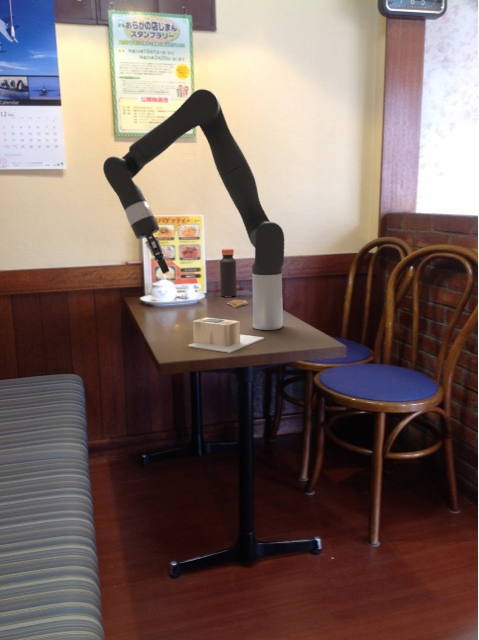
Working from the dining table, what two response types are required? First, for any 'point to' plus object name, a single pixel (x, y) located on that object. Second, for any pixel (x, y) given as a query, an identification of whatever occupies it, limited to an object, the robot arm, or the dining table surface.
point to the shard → (237, 303)
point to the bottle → (228, 273)
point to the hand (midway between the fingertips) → (166, 272)
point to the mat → (244, 341)
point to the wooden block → (216, 331)
